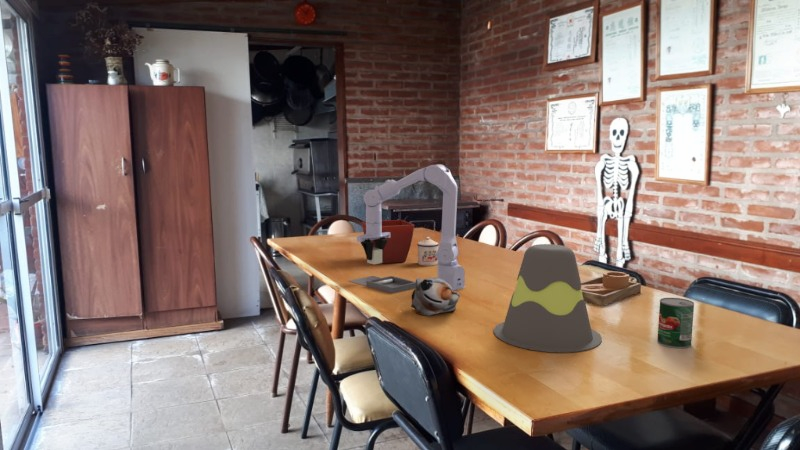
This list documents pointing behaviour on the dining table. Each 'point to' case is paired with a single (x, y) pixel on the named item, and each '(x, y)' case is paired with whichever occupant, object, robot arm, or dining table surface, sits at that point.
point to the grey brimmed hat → (548, 304)
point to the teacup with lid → (427, 252)
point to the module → (376, 256)
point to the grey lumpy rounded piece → (433, 296)
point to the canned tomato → (675, 322)
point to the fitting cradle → (609, 297)
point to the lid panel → (363, 280)
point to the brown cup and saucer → (608, 283)
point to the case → (391, 284)
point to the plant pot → (395, 240)
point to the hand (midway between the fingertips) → (374, 258)
